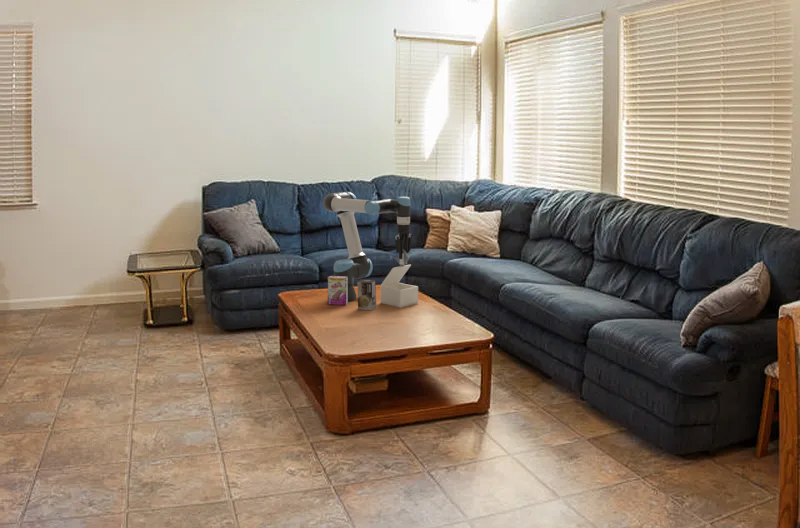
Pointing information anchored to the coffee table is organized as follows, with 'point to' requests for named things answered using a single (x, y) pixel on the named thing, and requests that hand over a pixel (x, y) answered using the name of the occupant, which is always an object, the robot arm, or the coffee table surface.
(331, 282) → the candy bar box
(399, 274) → the flap
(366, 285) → the coffee box
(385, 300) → the carton
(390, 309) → the coffee table surface
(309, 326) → the coffee table surface
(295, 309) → the coffee table surface
